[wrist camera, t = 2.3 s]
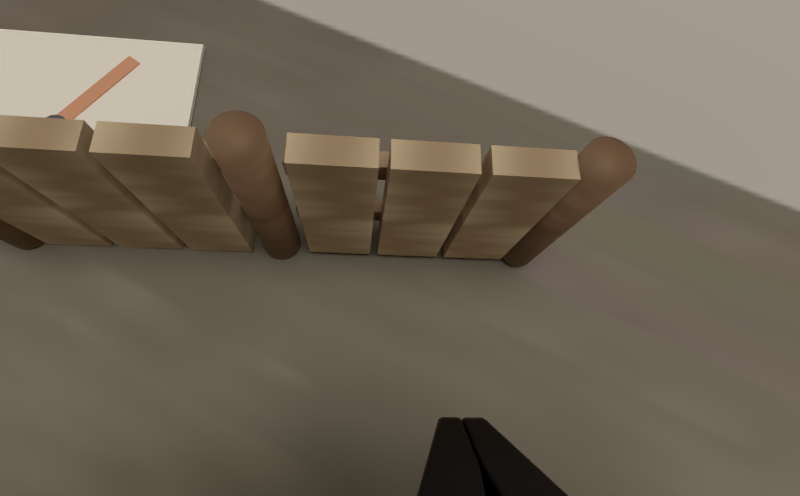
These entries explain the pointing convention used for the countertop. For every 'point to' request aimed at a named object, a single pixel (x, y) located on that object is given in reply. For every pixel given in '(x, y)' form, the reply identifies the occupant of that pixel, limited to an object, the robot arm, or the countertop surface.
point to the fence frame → (142, 185)
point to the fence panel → (447, 194)
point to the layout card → (98, 78)
